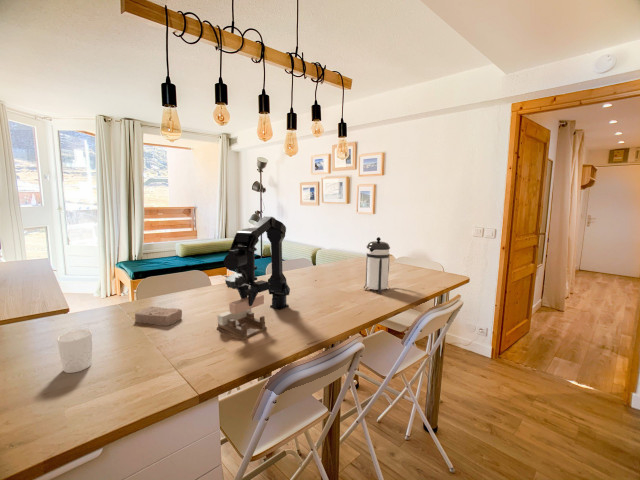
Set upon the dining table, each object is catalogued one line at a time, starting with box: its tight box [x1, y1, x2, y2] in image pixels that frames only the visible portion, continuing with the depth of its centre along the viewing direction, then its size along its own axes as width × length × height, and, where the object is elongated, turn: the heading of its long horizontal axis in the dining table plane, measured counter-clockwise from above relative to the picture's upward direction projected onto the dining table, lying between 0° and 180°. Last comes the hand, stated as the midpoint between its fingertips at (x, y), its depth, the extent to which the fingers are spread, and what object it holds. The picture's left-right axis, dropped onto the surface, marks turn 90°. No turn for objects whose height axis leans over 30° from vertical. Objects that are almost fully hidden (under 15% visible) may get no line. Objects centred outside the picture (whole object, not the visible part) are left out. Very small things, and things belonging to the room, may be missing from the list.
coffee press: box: [363, 237, 391, 294], centre depth 171 cm, size 17×16×30 cm
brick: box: [134, 306, 183, 326], centre depth 125 cm, size 17×8×5 cm, turn 78°
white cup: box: [57, 329, 93, 374], centre depth 90 cm, size 8×8×10 cm
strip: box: [216, 308, 252, 326], centre depth 120 cm, size 14×3×4 cm, turn 144°
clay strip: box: [228, 293, 265, 314], centre depth 114 cm, size 14×3×4 cm, turn 144°
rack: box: [216, 311, 267, 341], centre depth 118 cm, size 12×15×5 cm
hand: (247, 304), depth 115 cm, fingers closed on clay strip, 3 cm apart
